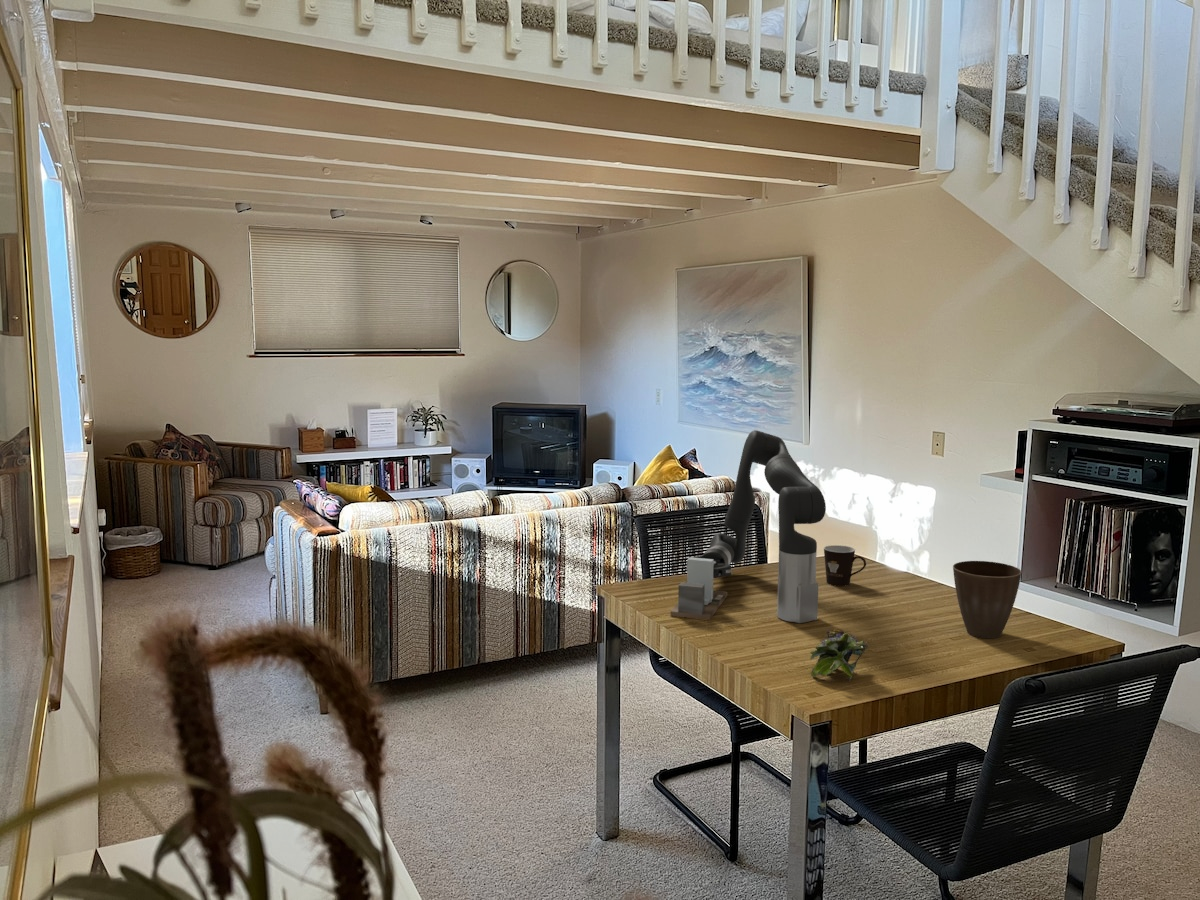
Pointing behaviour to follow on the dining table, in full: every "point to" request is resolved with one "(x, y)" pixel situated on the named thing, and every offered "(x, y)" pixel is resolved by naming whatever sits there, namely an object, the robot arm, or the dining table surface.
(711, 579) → the panel
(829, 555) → the coffee mug
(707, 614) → the board
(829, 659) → the passion flower
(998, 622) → the plant pot
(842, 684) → the dining table surface
